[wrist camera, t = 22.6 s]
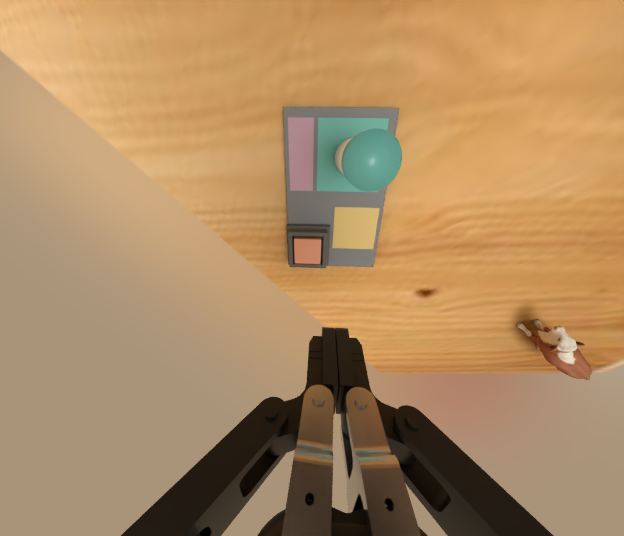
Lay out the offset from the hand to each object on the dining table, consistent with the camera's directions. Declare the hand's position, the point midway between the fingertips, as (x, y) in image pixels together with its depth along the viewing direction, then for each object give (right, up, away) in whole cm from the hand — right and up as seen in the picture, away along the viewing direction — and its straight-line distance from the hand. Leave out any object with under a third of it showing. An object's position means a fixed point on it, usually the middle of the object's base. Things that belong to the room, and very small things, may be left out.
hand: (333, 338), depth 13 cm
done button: (-2, +7, +18) cm, 20 cm away
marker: (+3, +18, +14) cm, 23 cm away
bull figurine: (+39, -7, +26) cm, 47 cm away
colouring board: (+2, +14, +17) cm, 22 cm away
